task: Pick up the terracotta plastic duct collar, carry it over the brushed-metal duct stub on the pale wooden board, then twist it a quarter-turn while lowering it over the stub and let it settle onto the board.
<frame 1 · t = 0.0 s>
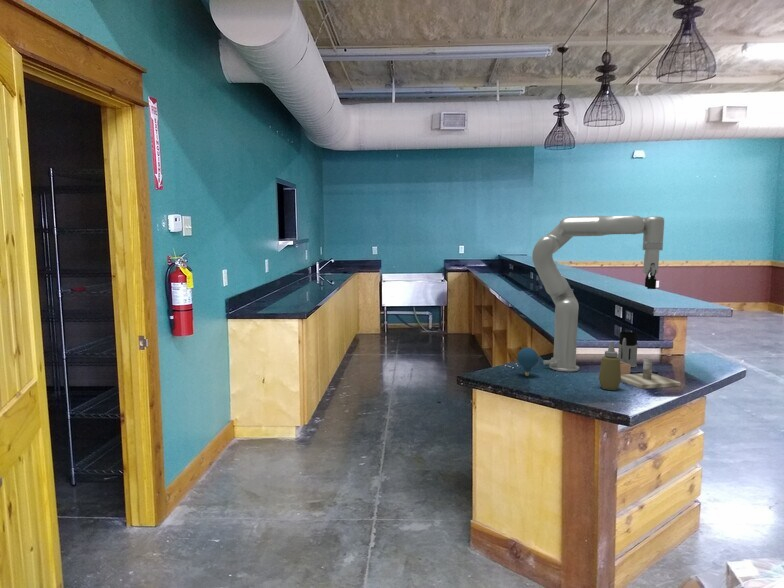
hand: (650, 288, 228), 37 cm above the worktop, tool pointing down, fingers open, 9 cm apart
squeeze bottle: (609, 389, 211), on the worktop
light bulb: (526, 376, 228), on the worktop
glass holder: (625, 367, 248), on the worktop
duct collar: (619, 374, 233), on the worktop
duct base: (646, 382, 221), on the worktop
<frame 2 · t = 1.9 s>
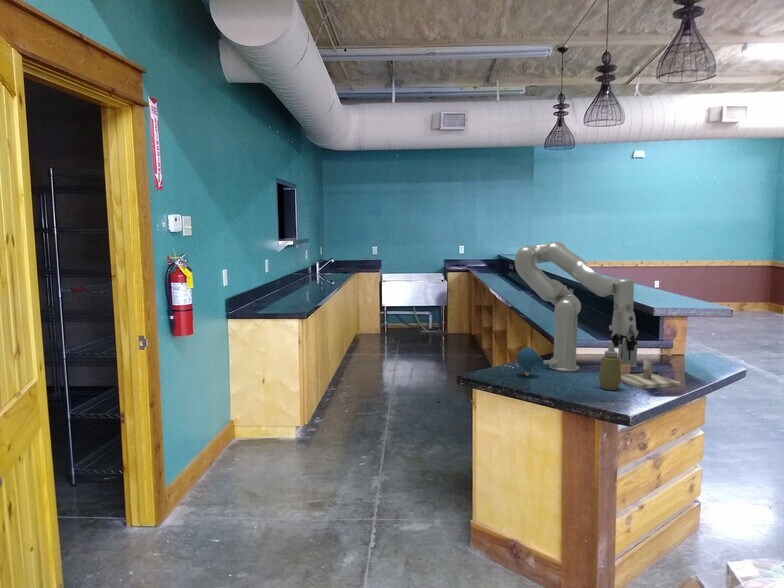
hand: (622, 348, 231), 12 cm above the worktop, tool pointing down, fingers open, 9 cm apart
nothing on the worktop moved.
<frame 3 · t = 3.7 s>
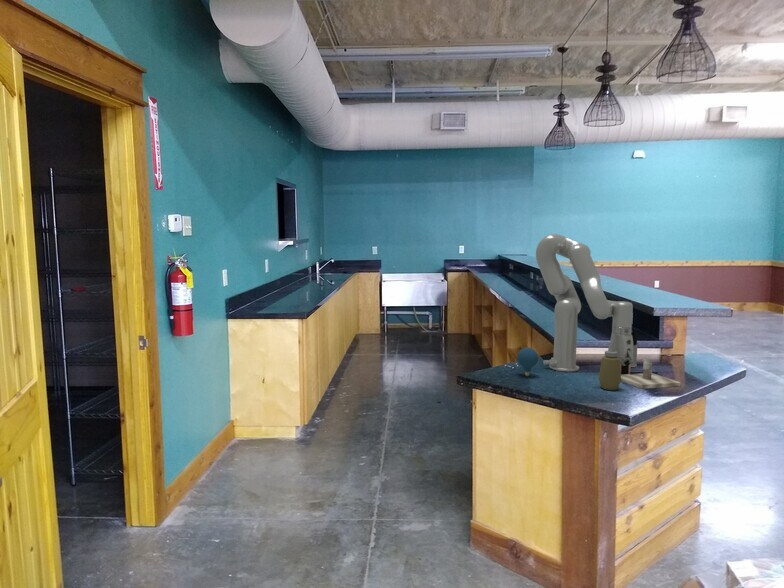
hand: (619, 372, 232), 1 cm above the worktop, tool pointing down, fingers closed on duct collar, 6 cm apart
duct collar: (619, 374, 233), on the worktop, touching gripper
everything else where it was.
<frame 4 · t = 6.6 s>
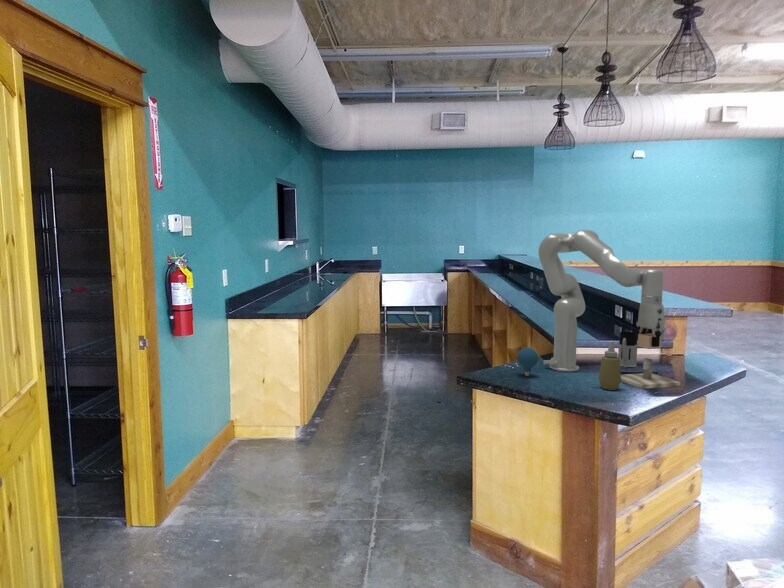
hand: (649, 344, 219), 15 cm above the worktop, tool pointing down, fingers closed on duct collar, 6 cm apart
duct collar: (649, 347, 219), point 14 cm above the worktop, touching gripper
everything else where it was.
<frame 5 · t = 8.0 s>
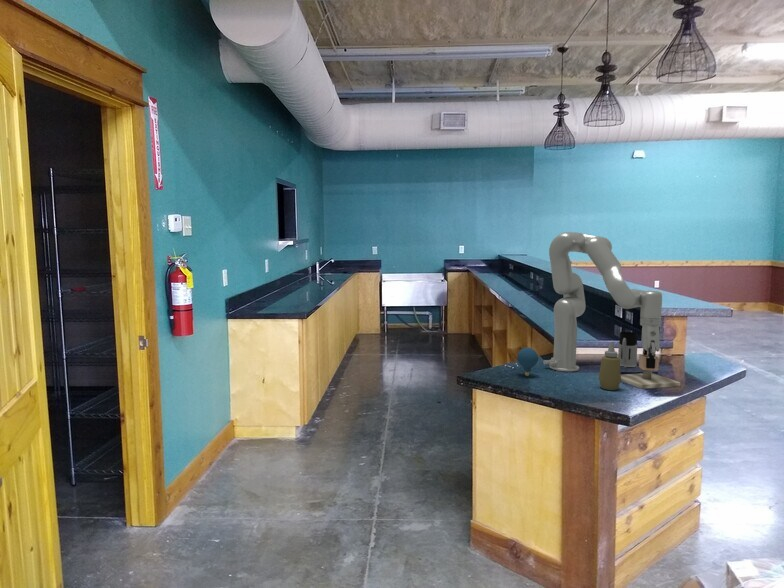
hand: (648, 365, 220), 7 cm above the worktop, tool pointing down, fingers closed on duct collar, 6 cm apart
duct collar: (648, 368, 220), point 6 cm above the worktop, touching gripper
everything else where it was.
when the fingers open (4 cm above the worktop, at t = 9.4 s): duct collar drops 1 cm, resting on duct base.
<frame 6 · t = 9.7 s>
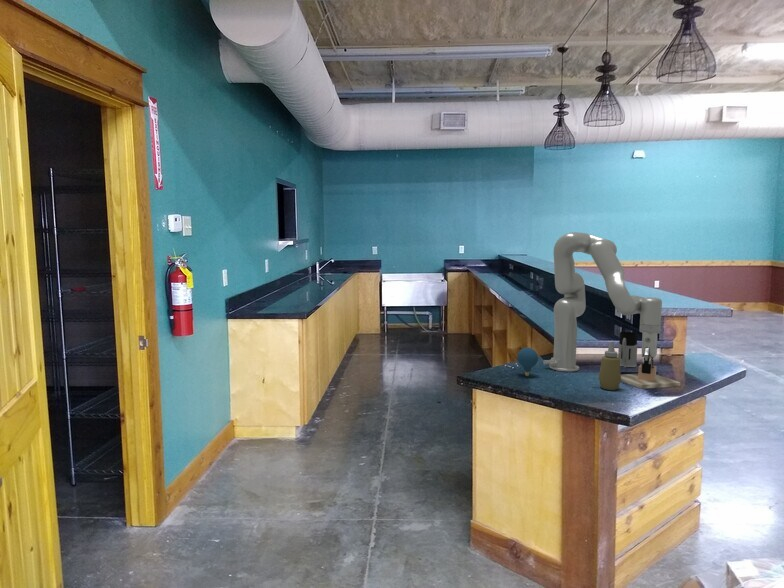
hand: (647, 370, 220), 5 cm above the worktop, tool pointing down, fingers open, 9 cm apart
duct collar: (646, 378, 221), point 1 cm above the worktop, touching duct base
everything else where it was.
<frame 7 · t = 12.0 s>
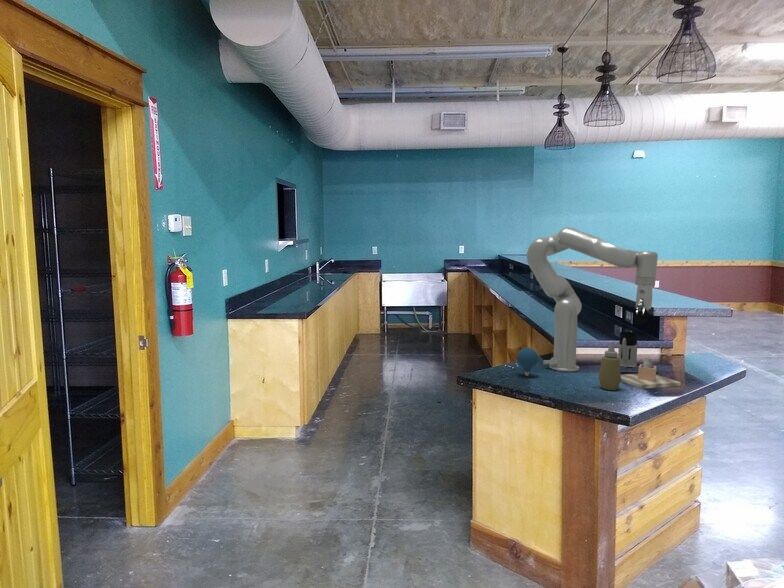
hand: (641, 322, 226), 23 cm above the worktop, tool pointing down, fingers open, 9 cm apart
nothing on the worktop moved.
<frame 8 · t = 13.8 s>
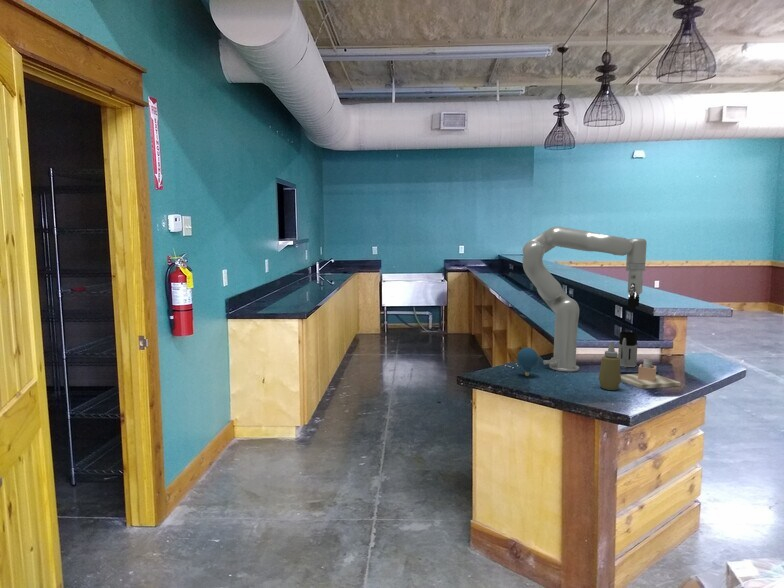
hand: (633, 306, 237), 28 cm above the worktop, tool pointing down, fingers open, 9 cm apart
nothing on the worktop moved.
at the end: duct collar 0.0 cm off-centre on the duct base, point 1.5 cm above the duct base's base; duct collar tilted 0°; the gripper is holding nothing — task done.
